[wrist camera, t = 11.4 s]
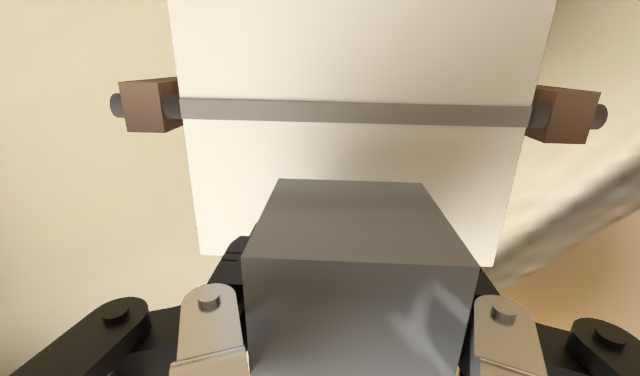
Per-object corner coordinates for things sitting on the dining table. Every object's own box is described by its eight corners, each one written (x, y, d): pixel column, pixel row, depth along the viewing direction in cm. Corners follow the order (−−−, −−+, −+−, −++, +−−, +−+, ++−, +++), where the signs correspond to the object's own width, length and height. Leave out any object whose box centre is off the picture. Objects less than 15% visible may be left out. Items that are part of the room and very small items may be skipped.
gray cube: (278, 178, 12) (240, 257, 7) (421, 182, 11) (480, 266, 7) (282, 293, 13) (253, 417, 9) (405, 299, 13) (443, 428, 9)
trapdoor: (167, -91, 12) (151, -106, 11) (562, -91, 11) (584, -106, 10) (207, 244, 17) (199, 256, 16) (483, 255, 16) (493, 268, 15)
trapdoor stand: (199, -72, 22) (38, -229, 10) (508, -71, 21) (726, -240, 9) (225, 205, 29) (149, 303, 17) (456, 213, 28) (542, 321, 16)
